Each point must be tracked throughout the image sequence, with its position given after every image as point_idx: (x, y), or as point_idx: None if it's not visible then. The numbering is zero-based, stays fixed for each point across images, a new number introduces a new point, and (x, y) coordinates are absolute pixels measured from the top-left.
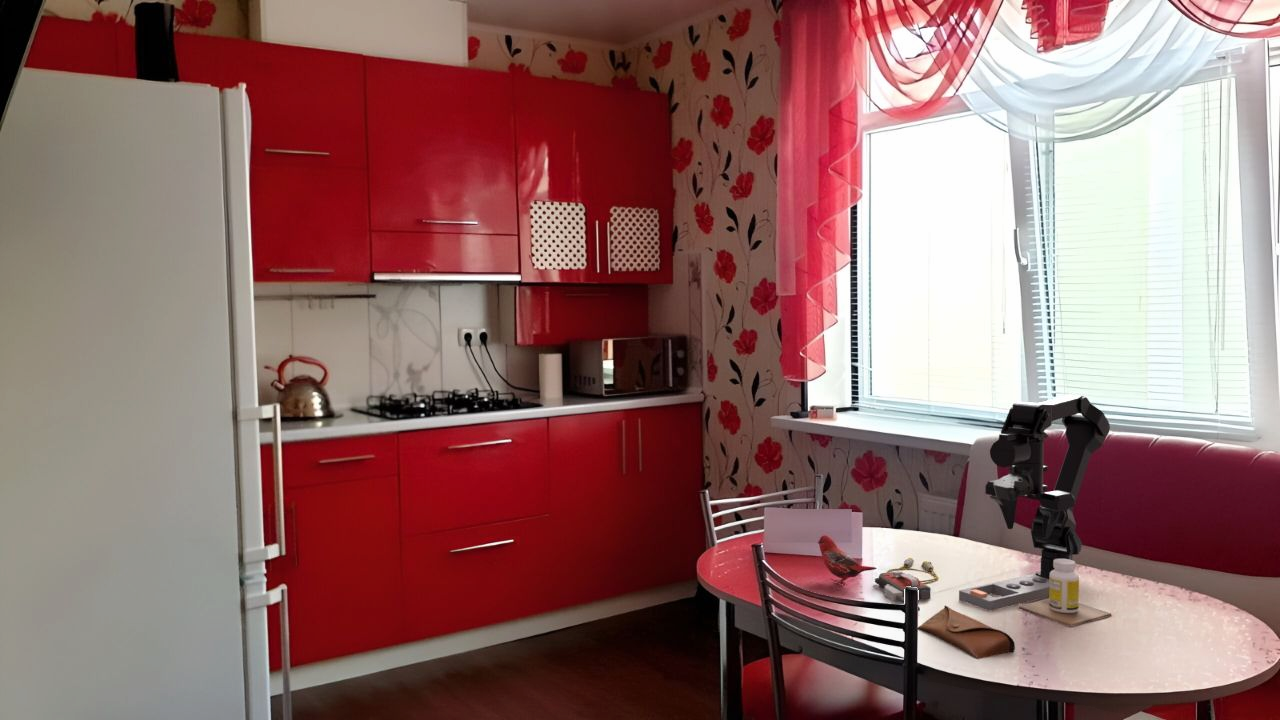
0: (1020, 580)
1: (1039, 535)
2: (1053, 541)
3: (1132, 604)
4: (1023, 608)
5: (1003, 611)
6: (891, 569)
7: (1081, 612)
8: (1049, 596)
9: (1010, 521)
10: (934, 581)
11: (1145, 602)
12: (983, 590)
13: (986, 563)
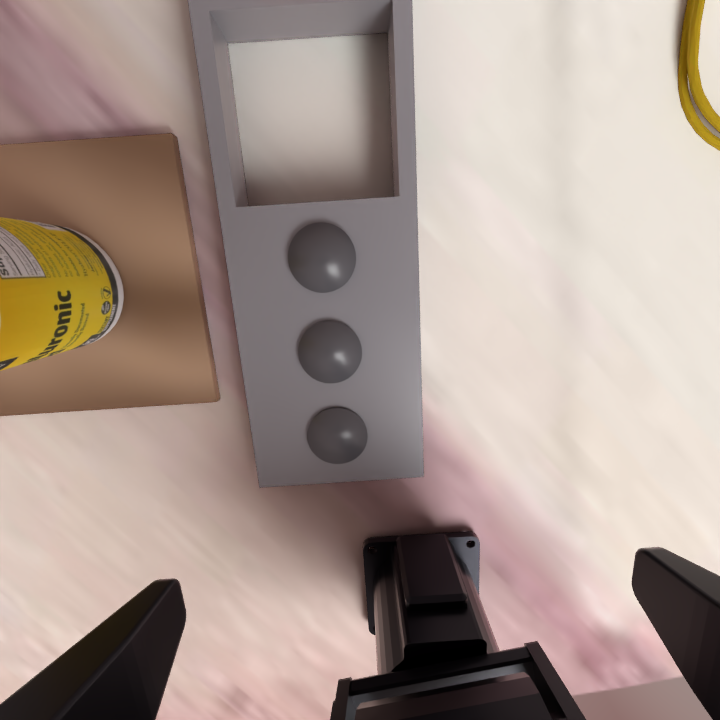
0: (378, 362)
1: (498, 716)
2: (396, 712)
3: (77, 568)
4: (144, 136)
5: (173, 35)
6: None
7: None
8: (51, 233)
9: (717, 648)
10: (679, 71)
11: (82, 614)
12: (393, 121)
13: (694, 491)
